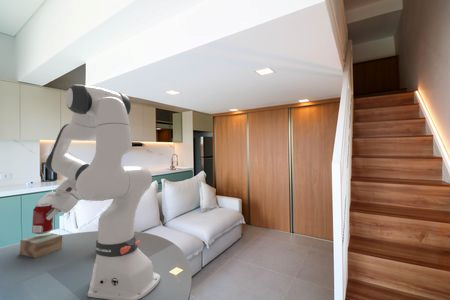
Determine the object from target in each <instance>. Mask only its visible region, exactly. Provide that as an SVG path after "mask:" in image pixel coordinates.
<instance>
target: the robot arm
mask: <svg viewBox="0 0 450 300" xmlns="http://www.w3.org/2000/svg"><path fill="white" fill-rule="evenodd" d="M65 104H66V106H67V108H68V109H69V110H70V111H71V112H72V116H71V120H70V122H69V123H65V124H64V125H63V126H62V128H60V130H59V133H58V135H57V137H56V139H55V141H54V144H53V147H52V150H50V151H51V152H50V153H49V155H48V156H47V158H46V160H45V167H46V169H47V170H48V171H49V172H53V173H55V174H58V175H60V176H62V177H65V178H66V179H65V180H63V181H62V182H61V183H60V184H59V185H58V186H57V187H56V188H55V190H53V191H49V192H48V193H45V195H43V196H42V197H41V198H39V200H38V201H37V202H36V205H37V204H43V203H48V204H49V205H51V204H52V205H51V207H52V208H54V210H53V212H51V213H50V214H48V215H47V216H46V217H45V219H47V220H50V219H51V218H52V217H53V218H54V217H56V216H57V215H58V214H59V213H65V214H67V213H68V212H71V210H73V208H74V207H76V206H77V204H78V202H79V201H81V200H84V201H86V202H87V201H89V202H100V201H101V202H103V201H108V200H112V202H111V203H110V204H109V206H108V207H107V208H106V209H105V210H104V211H103V212H102V213H101V214H100V216H99V218H98V222H97V223H98V225H97V240H96V242H95V254H96V256H95V261H94V263H93V268H92V274H91V280H90V283H89V289H88V291H87V297H89V298H97V299H103V300H104V299H105V300H140V299H142V298H144V297H145V296H146V295H148V294H149V293H150V292H152V290H154V289H155V288H156V286H158V284H159V283H160V280H161V275H160V274H159V273H157V272H154V267H153V262H152V260H150V259H149V257H148V256H147V255H146V254H144V253H143V252H142V251H141V250H140V249H139V248H138V244H141V242H140V241H141V239H138V240H137V239H136V235H135V222H136V221H135V219H136V213H137V209H138V206H139V204H140V202H141V199H142V197H143V196H144V195H145V193H146V192H147V191H148V190H149V189H150V188H151V186H152V182H153V176H152V173H151V171H150V170H149V169H148V168H147V167H146V166H145V167H144V166H140V165H133V164H132V165H122V159H123V156H125V155H126V154H127V153H128V152H130V151H131V150H132V146H133V144H132V142H133V141H132V133H131V132H132V131H131V126H130V119H129V114H131V113H130V112H131V108H132V103H131V101H130V98H129V97H128V96H127V95H125V94H124V93H121V92H115V91H112V90H109V89H106V88H102V87H97V86H90V85H89V86H88V85H84V84H71V85H70V86H69V87H68V88H67V90H66V93H65ZM93 139H95V153H94V157H93V159H92V160H91V162H86V161H84V160H82V159H79V158H77V157H75V156H73V155H71V154H70V153H69V152H68V149H69V147H70V146H71V142H72V140H75V141H90V140H93Z"/></svg>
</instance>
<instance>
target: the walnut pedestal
mask: <svg viewBox="0 0 450 300" xmlns="http://www.w3.org/2000/svg"><path fill="white" fill-rule="evenodd" d="M19 244H20V246H19V254H20V255H21V256H26V257H30V258H32V259H33V258H34V259H38V258H40V257H43V256H46V255H47V254H51V253H53V252H55V251H58V250H62V247H63V245H62V244H63V235H61V234H57V233H54V232H53V233H52V232H48V233H44V234H35V235H32V236H29V237H26V238H22V239H21V240H20V243H19Z"/></svg>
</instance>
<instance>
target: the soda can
mask: <svg viewBox="0 0 450 300" xmlns="http://www.w3.org/2000/svg"><path fill="white" fill-rule="evenodd" d="M51 205H52V204H51ZM51 205H49V204H48V203H43V204H37V203H36V204H35V207H34V208H33V211H32V226H31V229H32V231H31V233H32V234H35V235H39V234H44V233H48V232H49V233H51V231H53V228H54V227H53V226H54V225H53V224H54V217H52V218H51V219H50V220H47V219H45V217H46V216H47V215H48V214H50V213H51V212H53V210H54V208H52V207H51Z"/></svg>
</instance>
